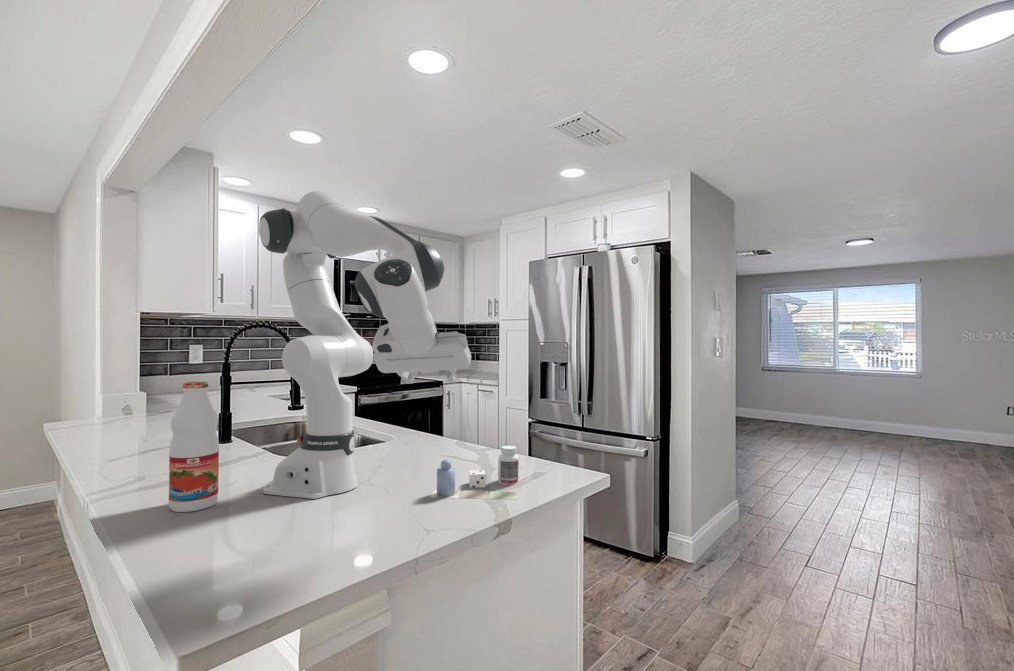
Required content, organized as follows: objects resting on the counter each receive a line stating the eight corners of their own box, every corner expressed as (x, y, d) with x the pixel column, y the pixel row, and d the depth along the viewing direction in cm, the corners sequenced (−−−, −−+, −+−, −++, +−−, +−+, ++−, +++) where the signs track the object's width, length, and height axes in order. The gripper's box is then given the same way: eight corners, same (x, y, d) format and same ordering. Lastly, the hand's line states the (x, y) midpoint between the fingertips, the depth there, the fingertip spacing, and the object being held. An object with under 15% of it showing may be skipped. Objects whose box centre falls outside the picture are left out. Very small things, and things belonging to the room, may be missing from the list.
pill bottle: (522, 484, 126) (522, 448, 126) (505, 488, 123) (505, 450, 123) (510, 479, 130) (511, 444, 130) (494, 482, 127) (494, 446, 127)
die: (470, 490, 121) (470, 474, 121) (469, 485, 125) (469, 470, 125) (485, 489, 121) (485, 474, 121) (484, 484, 125) (484, 469, 125)
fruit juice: (221, 496, 114) (222, 380, 114) (214, 509, 105) (216, 384, 105) (174, 501, 110) (175, 381, 110) (163, 515, 101) (165, 385, 101)
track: (426, 500, 113) (426, 497, 113) (430, 491, 119) (430, 489, 119) (520, 502, 112) (520, 499, 112) (520, 493, 118) (520, 491, 118)
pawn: (435, 496, 114) (435, 461, 114) (438, 490, 118) (438, 457, 118) (453, 497, 114) (453, 462, 114) (456, 491, 118) (456, 457, 118)
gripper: (466, 321, 98) (478, 368, 107) (372, 327, 100) (391, 372, 109) (462, 342, 93) (475, 389, 102) (363, 347, 96) (384, 393, 105)
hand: (431, 380), depth 106 cm, fingers open, 8 cm apart
